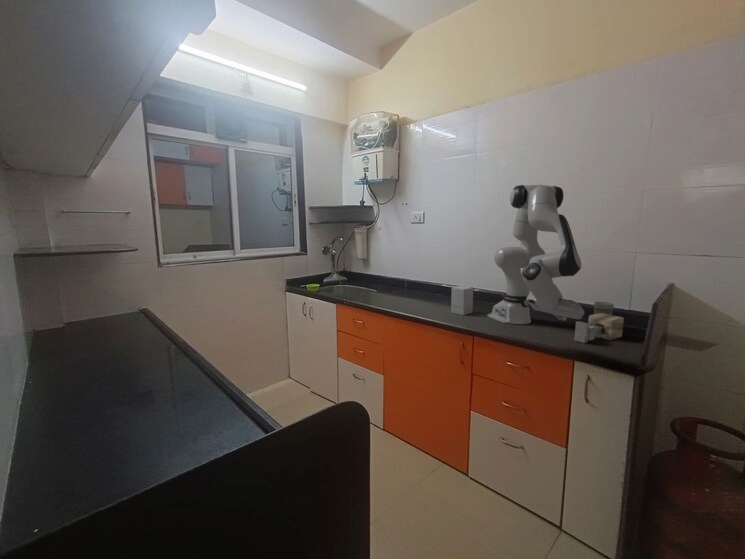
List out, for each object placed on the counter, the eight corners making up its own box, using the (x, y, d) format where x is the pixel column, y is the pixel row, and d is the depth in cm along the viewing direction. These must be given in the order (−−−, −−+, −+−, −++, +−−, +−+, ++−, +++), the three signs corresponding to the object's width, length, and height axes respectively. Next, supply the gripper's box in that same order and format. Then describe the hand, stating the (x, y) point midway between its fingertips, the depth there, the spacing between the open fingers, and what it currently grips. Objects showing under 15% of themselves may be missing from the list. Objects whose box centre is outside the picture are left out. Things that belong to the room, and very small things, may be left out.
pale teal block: (576, 337, 149) (577, 325, 148) (581, 335, 151) (582, 324, 150) (589, 340, 144) (590, 328, 144) (594, 339, 146) (595, 327, 145)
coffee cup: (607, 325, 170) (609, 301, 168) (615, 330, 162) (618, 305, 160) (588, 324, 172) (590, 301, 170) (595, 329, 164) (597, 304, 162)
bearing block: (587, 334, 157) (588, 315, 155) (598, 331, 161) (600, 312, 160) (610, 340, 148) (612, 320, 147) (621, 337, 152) (624, 317, 151)
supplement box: (473, 313, 196) (474, 287, 194) (463, 315, 191) (464, 289, 188) (460, 310, 203) (460, 285, 201) (450, 312, 198) (451, 287, 195)
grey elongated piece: (574, 340, 148) (575, 321, 146) (598, 333, 156) (600, 316, 155) (584, 343, 144) (586, 324, 143) (608, 336, 152) (610, 318, 151)
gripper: (579, 295, 123) (593, 318, 129) (530, 287, 141) (544, 307, 147) (571, 308, 122) (585, 331, 128) (522, 299, 140) (536, 319, 146)
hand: (562, 318), depth 138 cm, fingers closed
